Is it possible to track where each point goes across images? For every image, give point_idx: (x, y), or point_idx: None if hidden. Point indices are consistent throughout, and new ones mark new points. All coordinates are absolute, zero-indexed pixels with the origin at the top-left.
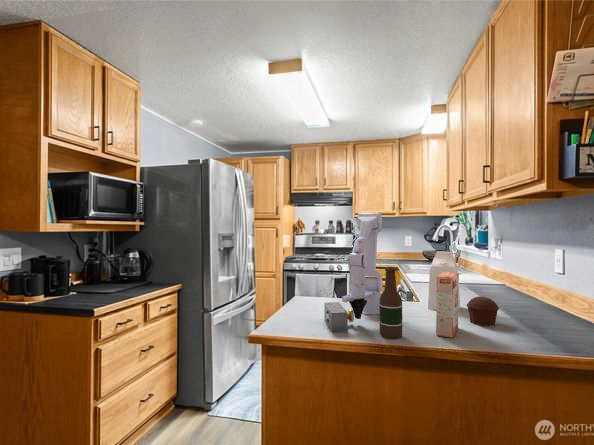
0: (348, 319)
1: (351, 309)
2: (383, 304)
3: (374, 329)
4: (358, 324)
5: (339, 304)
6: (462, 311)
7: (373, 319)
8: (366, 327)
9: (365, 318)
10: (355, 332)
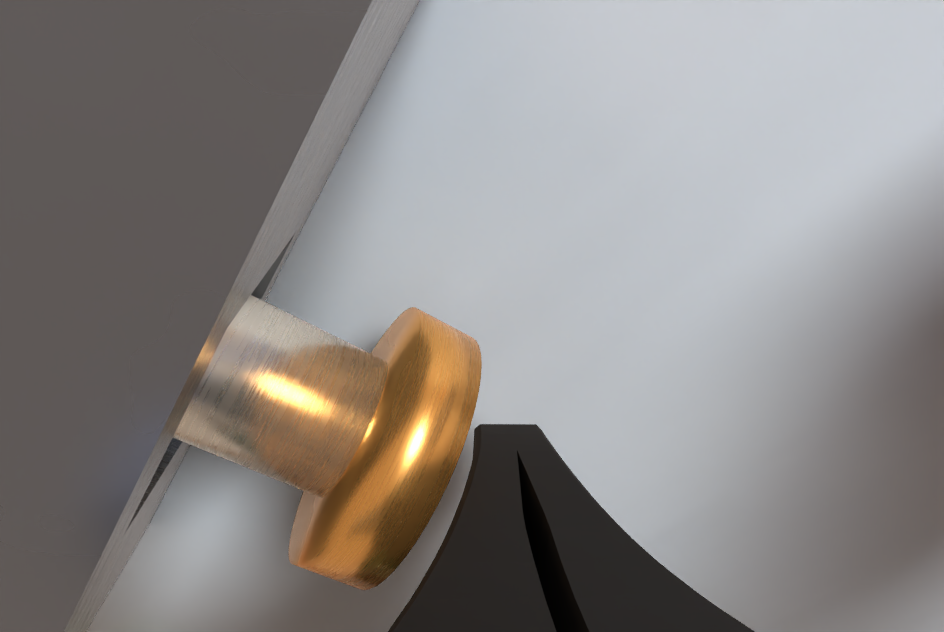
0: (394, 324)
1: (399, 539)
2: None
3: None
4: (507, 396)
5: (214, 186)
6: None
7: (900, 351)
8: None
9: (878, 237)
10: (225, 582)
